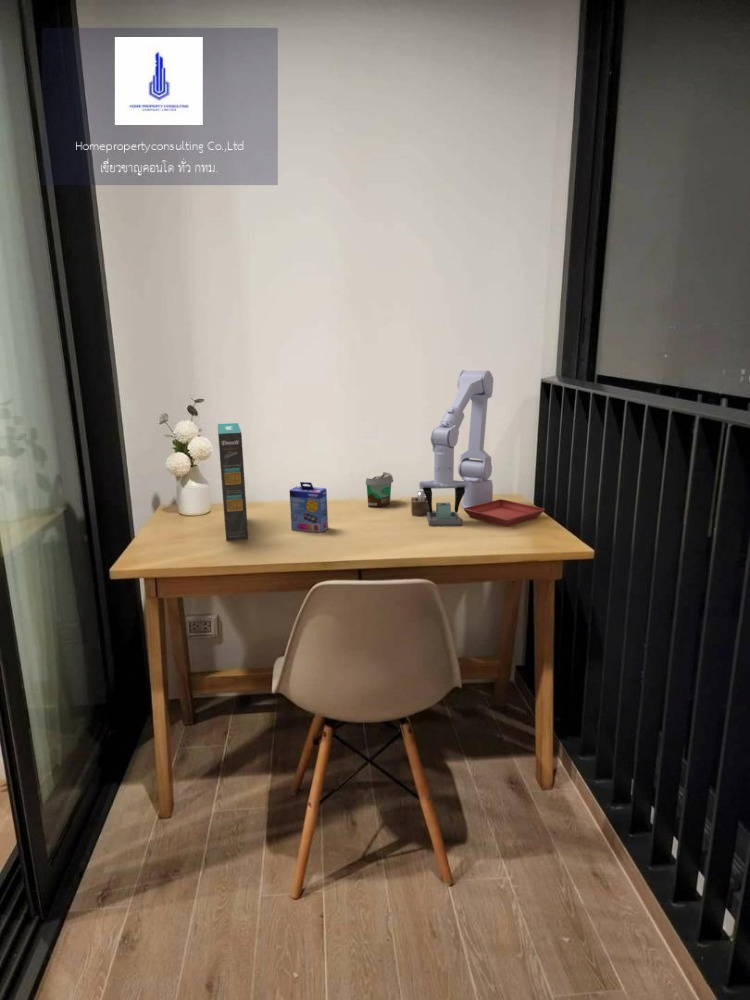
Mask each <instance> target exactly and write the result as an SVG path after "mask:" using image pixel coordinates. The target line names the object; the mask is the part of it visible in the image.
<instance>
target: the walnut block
mask: <svg viewBox="0 0 750 1000" xmlns="http://www.w3.org/2000/svg"><path fill="white" fill-rule="evenodd" d="M410 501H411V502H410V503H411V505H410V508H411V509H410V510H411V515H412V517H420V516H421V517H427V512H429V505H428V501H427V498H426V496H425V501H418V496H415V497H411V499H410Z"/></svg>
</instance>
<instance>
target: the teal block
mask: <svg viewBox="0 0 750 1000" xmlns="http://www.w3.org/2000/svg"><path fill="white" fill-rule="evenodd" d="M435 503H436V505H435V507H436V508H435V510H436V511H435V512H436V519H437V520H445V519H451V512H452V505H451V502H435Z"/></svg>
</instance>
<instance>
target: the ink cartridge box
mask: <svg viewBox="0 0 750 1000" xmlns="http://www.w3.org/2000/svg"><path fill="white" fill-rule="evenodd" d="M299 483H300V486H295V487H293V488H291V489H289V507H290V525H291V526H290V527H291V530H292V531H302V532H303V531H304V532H312V533H322V532H324V531H325V530H327V529H328V528H329V520H328V519H329V517H328V514H329V513H328V494H327V488H325V487H314V485H313V484H312V482H310V481H309V482H307V481H305V482H304V481H300V482H299Z"/></svg>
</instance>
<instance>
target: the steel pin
mask: <svg viewBox="0 0 750 1000" xmlns="http://www.w3.org/2000/svg"><path fill="white" fill-rule="evenodd" d="M417 497H418V501H425V497H426V496H425V494H424V491H423V490H418V491H417Z"/></svg>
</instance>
